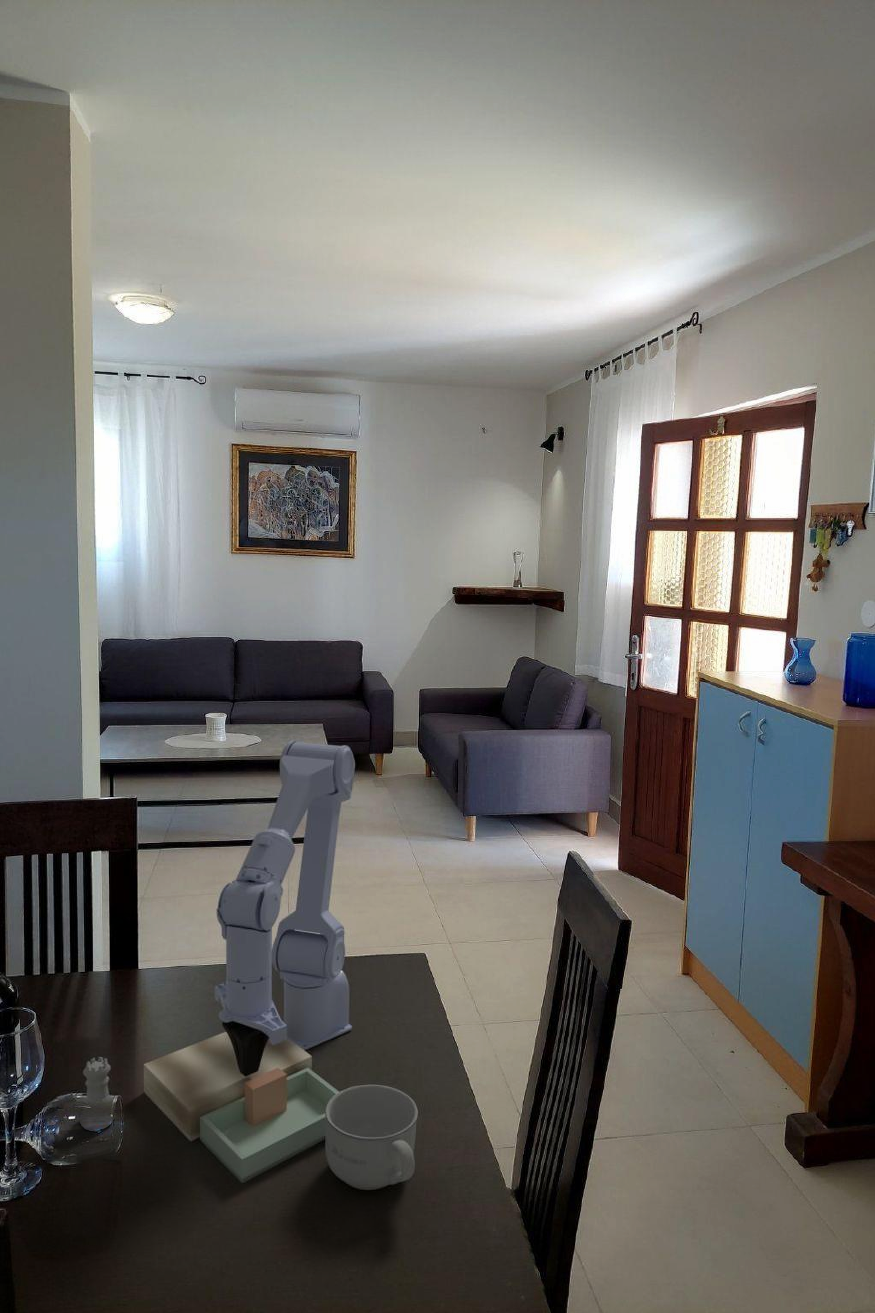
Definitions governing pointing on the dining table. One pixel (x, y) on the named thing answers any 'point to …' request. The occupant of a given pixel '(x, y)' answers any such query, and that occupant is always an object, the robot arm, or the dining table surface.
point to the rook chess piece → (97, 1079)
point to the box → (269, 1128)
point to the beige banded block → (210, 1078)
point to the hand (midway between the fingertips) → (249, 1071)
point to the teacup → (371, 1136)
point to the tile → (265, 1096)
